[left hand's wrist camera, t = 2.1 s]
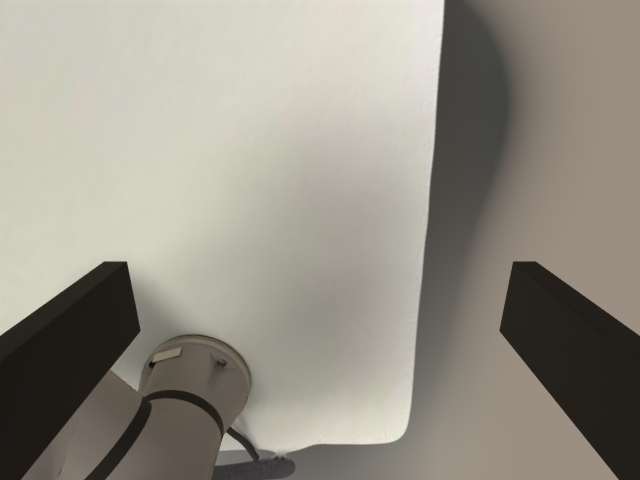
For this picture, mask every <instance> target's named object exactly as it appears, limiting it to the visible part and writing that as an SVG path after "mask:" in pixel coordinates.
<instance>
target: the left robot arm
mask: <svg viewBox="0 0 640 480" xmlns="http://www.w3.org/2000/svg"><path fill="white" fill-rule="evenodd" d="M139 332H140V326H139V320H138V315H137V310H136V305H135V300H134V295H133V290H132V285H131V280H130V275H129V270H128V265H127V262H103V263H102V264H100V265H99V266H97V267H96V268H95V269H93V270H92V271H90V272H89V273H88V274H86V275H85V276H83V277H82V278H81V279H79V280H78V281H76V282H75V283H74V284H72V285H71V286H69V287H68V288H67V289H65V290H64V291H62V292H61V293H60V294H58V295H57V296H55V297H54V298H53V299H51V300H50V301H48V302H47V303H46V304H44V305H43V306H41V307H40V308H39V309H37V310H36V311H34V312H33V313H32V314H30V315H29V316H27V317H26V318H25V319H23V320H22V321H20V322H19V323H18V324H16V325H15V326H13V327H12V328H11V329H9V330H8V331H6V332H5V333H4V334H2V335H1V336H0V480H211V476H212V473H213V469H214V466H215V462H216V459H217V456H218V452H219V449H220V445H221V441H222V438H223V435H224V434H225V432H227V433H228V434H229V435H230V436H232V437H233V438H234V439H236V440H237V441H239V442H240V443H241V444H242V445H243V446H244V447H245V448H246V450H247V451H248V452H249V454H250V455H251V457H252V458H253V459H254V461H257V460H258V459H259V456H258V454H257V453H256V451H255V450H254V449H253V447H252V446H251V444H250V443H249V442H248V441H247V440H246V439H245V438H244V437H243V436H242V435H240V434H239V433H237V432H236V431H235V430H234V429H233V428H231V427H230V426H231V424H232V423H233V421H234V420H235V419H236V417H237V416H238V415H239V413H240V412H241V411H242V409H243V408H244V406H245V404H246V401H247V398H248V394H249V390H250V374H249V371H248V368H247V366H246V364H245V362H244V361H243V359H242V358H241V357H240V356H239V354H238V353H237V352H235V351H234V350H233V349H232V348H231V347H229V346H228V345H226V344H224V343H222V342H220V341H218V340H215V339H212V338H209V337H204V336H196V335H189V336H181V337H177V338H173V339H171V340H169V341H166V342H165V343H163V344H162V345H160V346H159V347H158V348H157V349H156V350H155V351H154V352H153V353H152V355H151V356H150V358H149V359H148V361H147V362H146V364H145V366H144V368H143V370H142V374H141V380H140V385H139V390H138V392H137V391H136V390H135V389H133V388H132V387H131V386H130V385H128V384H127V383H126V382H125V381H123V380H122V379H121V378H120V377H119V376H117V375H116V374H115V373H114V372H113V371H112V370H110V368H111V367H112V366H113V365H114V363H115V362H116V361H117V360H118V358H119V357H120V356H121V355H122V353H123V352H124V351H125V350H126V348H127V347H128V346H129V345H130V343H131V342H132V341H133V340H134V338H135V337H136V336H137V335H138V333H139ZM500 332H501V333H502V335H503V336H504V337H505V338H506V340H507V341H508V342H509V343H510V345H511V346H512V347H513V348H514V349H515V351H516V352H517V353H518V355H519V356H520V357H521V358H522V360H523V361H524V362H525V363H526V364H527V366H528V367H529V368H530V369H531V371H532V372H533V373H534V375H535V376H536V377H537V378H538V379H539V381H540V382H541V383H542V384H543V386H544V387H545V388H546V389H547V391H548V392H549V393H550V394H551V396H552V397H553V398H554V399H555V401H556V402H557V403H558V404H559V406H560V407H561V408H562V409H563V411H564V412H565V413H566V414H567V416H568V417H569V418H570V419H571V421H572V422H573V423H574V424H575V426H576V427H577V428H578V429H579V430H580V432H581V433H582V434H583V436H584V437H585V438H586V439H587V441H588V442H589V443H590V444H591V446H592V447H593V448H594V449H595V451H596V452H597V453H598V454H599V455H600V457H601V458H602V459H603V460H604V462H605V463H606V464H607V465H608V467H609V468H610V469H611V470H612V472H613V473H614V474H615V475H616V477H617V478H618V479H619V480H640V336H639V335H638V334H636V333H635V332H634V331H632V330H631V329H629V328H628V327H627V326H625V325H624V324H622V323H621V322H620V321H618V320H617V319H615V318H614V317H613V316H611V315H610V314H608V313H607V312H606V311H604V310H603V309H601V308H600V307H599V306H597V305H596V304H594V303H593V302H591V301H590V300H589V299H587V298H586V297H585V296H583V295H582V294H580V293H579V292H578V291H576V290H575V289H573V288H572V287H571V286H569V285H568V284H566V283H565V282H564V281H562V280H561V279H559V278H558V277H557V276H555V275H554V274H552V273H551V272H550V271H548V270H547V269H545V268H544V267H543V266H541V265H540V264H538V263H537V262H513V265H512V270H511V275H510V280H509V285H508V290H507V295H506V300H505V305H504V310H503V315H502V321H501V326H500Z"/></svg>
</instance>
